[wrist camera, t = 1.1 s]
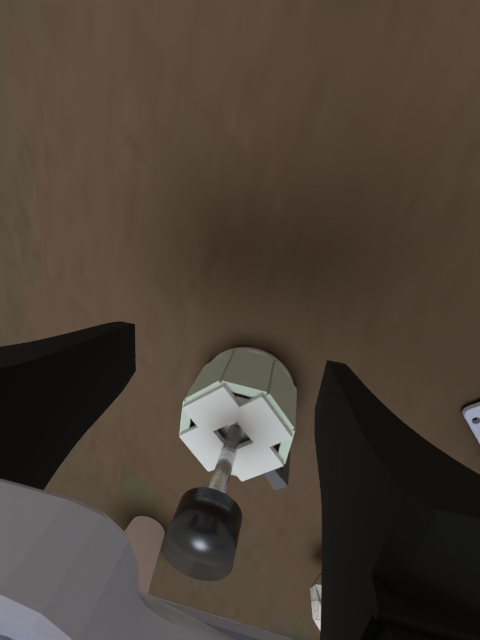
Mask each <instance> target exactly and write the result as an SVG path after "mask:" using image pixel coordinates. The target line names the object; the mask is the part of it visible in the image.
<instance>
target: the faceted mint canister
mask: <svg viewBox="0 0 480 640" xmlns="http://www.w3.org/2000/svg"><path fill="white" fill-rule="evenodd" d="M235 395H239V396H244V397H247V398H249V400H246V401H244V402H242V403H240V402H239V401H238V399H237V398H236V397H235ZM296 404H297V388H296V387H295V386H294V383H293V379H292V377H291V375H290V373H289V371H288V369H287V368H286V367H285V366H284V364H283V363H282V362H281V361H280V360H279V359H277V358H276V357H275V356H273V355H271V354H270V353H268V352H265V351H263V350H260V349H257V348H252V347H237V348H232V349H228V350H226V351H224V352H222V353H220V354H219V355H217V356H216V357H215V358H214V359H213V360H212V361H211V362H210V363H208V364H206V365H205V366H204V367H203V369H202V370H201V372H200V374H199V375H198V377H197V379H196V380H195V382H194V384H193V385H192V387H191V389H190V390H189V392H188V394H187V395H186V397H185V399H184V400H183V407H182V415H181V424H180V432H179V434H180V435H179V437H180V438H181V439H182V441H183V442H184V443H185V444H186V445H187V447H188V448H189V449H190V450H191V451H192V453H193V454H194V455H195V456H196V458H197V459H198V460H199V461H200V462H201V464H202V465H203V466H204V467H205V468H206V470H207V471H208V472H209V471H212V470H215V467H216V464H217V461H218V458H219V455H220V452H221V449H222V446H223V443H224V440H225V439H224V438H223V437H222V435H221V434H220V433H219V432H218V430H217V429H220V428H222V427H224V426H226V425H228V424H231V423H233V422H235V421H237V422H238V423H239V425H240V426H241V427H242V429H243V430H244V431H245V432H246V434H247V435H248V436H249V438H250V439H251V440H249V441H246V442H244V443H242V444H239V446H238V449H237V453H236V457H235V461H234V464H233V468H232V472H231V475H235V476H238V478H239V479H240V480H241V481H245V480H247V479H250V478H253V477H256V476H258V475H261V474H263V475H264V476H265V477H266V479H267V480H268V481H269V484H270V485H271V486H272V487H273V489H274V490H278V489H281V488H284V487H287V486H288V476H289V461H290V446H291V443H292V440H293V436H294V433H295V424H296Z"/></svg>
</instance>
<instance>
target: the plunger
mask: <svg viewBox="0 0 480 640" xmlns="http://www.w3.org/2000/svg"><path fill="white" fill-rule="evenodd" d="M235 397H236V398H237V399H238V401H239V402H240V403H242V402H244V401H246V400H249V398H247V397H244V396H239V395H235ZM217 430H218V432H219V433H220V434H221V435H222V437H223V438H224V439H225V440H224V443H223V446H222V449H221V452H220V455H219V458H218V461H217V464H216V467H215V470H214V472H213V475H212V478H211V481H210V484H209V487H208V488H205V487H200V488H194V489H191V490H189V491H187V492H186V493H185V494H184V495H183V496H182V498H181V500H180V503H179V505H178V507H177V510H176V512H175V515H174V517H173V519H172V522H171V524H170V527H169V529H168V532H167V534H166V536H165V539H164V541H163V545H162V548H163V553H164V555H165V557H166V559H167V560H168V562H169V563H170V564H171V565H172V566H173V567H174V568H176V569H177V570H178V571H180V572H181V573H183V574H185V575H187V576H189V577H192V578H195V579H199V580H205V581H215V580H219V579H222V578H224V577H226V576H228V575H229V574H230V572H231V570H232V568H233V563H234V558H235V553H236V548H237V543H238V537H239V532H240V527H241V522H242V513H241V510H240V508H239V506H238V505H237V503H236V502H235V501H234V500H233V499H232V498H231V497H229V496H228V495H226V490H227V486H228V483H229V479H230V475H231V472H232V468H233V464H234V461H235V457H236V453H237V449H238V446H239V444H242V443H244V442H246V441H249V440H251V439H250V438H249V436H248V435H247V434H246V432H245V431H244V430H243V429H242V427H241V426H240V425H239V423H238V422H237V421H235V422H233V423H231V424H228V425H226V426H224V427H222V428H220V429H217Z"/></svg>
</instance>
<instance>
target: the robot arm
mask: <svg viewBox="0 0 480 640" xmlns="http://www.w3.org/2000/svg"><path fill="white" fill-rule="evenodd" d="M135 371H136V364H135V324H131V323H125V322H112V323H107V324H102V325H98V326H94V327H90V328H87V329H83V330H79V331H75V332H71V333H67V334H63V335H59V336H54V337H50V338H46V339H41V340H37V341H32V342H27V343H21V344H15V345H9V346H3V347H0V640H295V639H292V638H289V637H286V636H282V635H279V634H276V633H272V632H269V631H266V630H263V629H259V628H256V627H253V626H249V625H246V624H243V623H239V622H236V621H233V620H230V619H226V618H223V617H220V616H216V615H213V614H210V613H206V612H203V611H200V610H197V609H193V608H190V607H187V606H183V605H180V604H177V603H173V602H170V601H167V600H164V599H160V598H157V597H154V596H152V595H150V594H148V593H146V592H144V591H142V590H140V589H138V564H137V561H136V558H135V555H134V553H133V550H132V547H131V545H130V542H129V539H128V537H127V534H126V533H125V532H124V531H123V530H122V529H121V528H120V527H119V526H118V525H117V524H116V523H114V522H113V521H112V520H111V519H110V518H109V517H108V516H107V515H106V514H105V513H104V512H102V511H100V510H98V509H96V508H93V507H91V506H89V505H87V504H85V503H83V502H80V501H78V500H76V499H74V498H70V497H67V496H63V495H59V494H56V493H52V492H48V491H45V490H44V488H45V487H46V485H47V484H48V482H49V481H50V479H51V478H52V476H53V475H54V473H55V472H56V470H57V469H58V468H59V466H60V465H61V464H62V462H63V461H64V459H65V458H66V457H67V455H68V454H69V452H70V451H71V450H72V448H73V447H74V446H75V444H76V443H77V442H78V441H79V440H80V438H81V437H82V436H83V435H84V434H85V432H86V431H87V430H88V429H89V428H90V427H91V426H92V425H93V424H94V422H95V421H96V420H97V419H98V418H99V417H100V416H101V415H102V414H103V412H104V411H105V410H106V409H107V408H108V407H109V406H110V405H111V404H112V402H113V401H114V400H115V399H116V398H117V397H118V396H119V394H120V393H121V392H122V391H123V389H124V388H125V386H126V385H127V384H128V382H129V380H130V379H131V377H132V376H133V374H134V372H135ZM462 414H463V416H464V418H465V420H466V421H467V423H468V425H469V426H470V428H471V430H472V432H473V433H474V435H475V437H476V439H477V440H478V442H479V444H480V402H478V403H475V404H472V405H469V406H467V407H465V408H464V409H463V411H462ZM476 417H477V419H476V420H472V419H473V418H476ZM314 433H315V443H316V453H317V462H318V471H319V480H320V489H321V502H322V586H321V629H320V640H480V475H479V474H478V473H476V472H474V471H472V470H471V469H469V468H467V467H466V466H464V465H463V464H461V463H459V462H458V461H456V460H455V459H453V458H452V457H450V456H449V455H447V454H446V453H444V452H443V451H441V450H440V449H438V448H437V447H435V446H434V445H432V444H431V443H430V442H428V441H427V440H425V439H424V438H423V437H421V436H420V435H419V434H417V433H416V432H415V431H414V430H412V429H411V428H410V427H409V426H407V425H406V424H405V423H404V422H402V421H401V420H400V419H399V418H398V417H397V416H395V415H394V414H393V413H392V412H391V411H390V410H389V409H388V408H387V407H386V406H385V405H384V404H383V403H382V402H381V401H380V400H379V399H378V398H377V397H376V396H375V395H374V394H373V393H372V392H371V391H370V390H369V389H368V388H367V387H366V386H365V385H364V384H363V383H362V381H361V380H360V379H359V378H358V377H357V376H356V375H355V374H354V373H353V371H352V370H351V369H350V368H349V367H348V366H347V365H346V364H344V363H338V362H333V361H328V360H327V363H326V367H325V371H324V375H323V379H322V383H321V387H320V391H319V395H318V399H317V403H316V407H315V432H314Z"/></svg>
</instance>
